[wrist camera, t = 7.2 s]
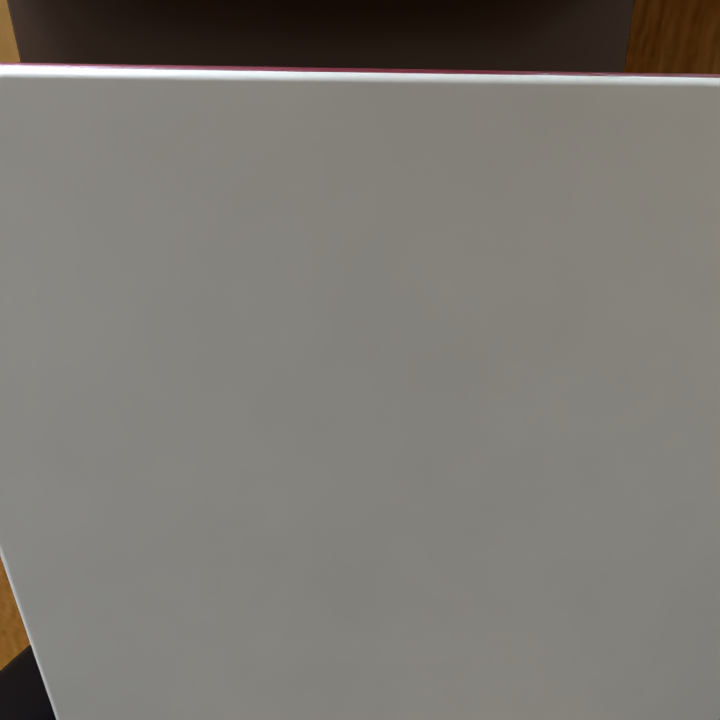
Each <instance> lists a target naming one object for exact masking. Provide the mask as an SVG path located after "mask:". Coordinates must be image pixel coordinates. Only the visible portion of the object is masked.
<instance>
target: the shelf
mask: <svg viewBox="0 0 720 720" xmlns="http://www.w3.org/2000/svg"><path fill="white" fill-rule="evenodd" d="M7 3H8V8H9V12H10V16H11V21H12V25H13V30H14V34H15V39H16V43H17V48H18V52H19V57H20V61H21V63H65V64H128V65H190V66H252V67H314V68H376V69H438V70H501V71H563V72H624V68H625V61H626V55H627V48H628V42H629V35H630V29H631V22H632V16H633V9H634V3H635V0H7Z"/></svg>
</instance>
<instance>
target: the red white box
mask: <svg viewBox="0 0 720 720" xmlns="http://www.w3.org/2000/svg"><path fill="white" fill-rule="evenodd" d="M0 556H1V559H2V562H3V565H4V568H5V571H6V573H7V576H8V579H9V582H10V585H11V588H12V591H13V594H14V597H15V600H16V603H17V606H18V609H19V612H20V614H21V617H22V620H23V623H24V626H25V629H26V632H27V635H28V638H29V641H30V644H31V647H32V650H33V653H34V655H35V658H36V661H37V664H38V667H39V670H40V673H41V676H42V679H43V682H44V685H45V688H46V691H47V694H48V696H49V699H50V702H51V705H52V708H53V711H54V714H55V717H56V720H720V74H687V73H625V72H563V71H501V70H438V69H376V68H314V67H252V66H190V65H128V64H65V63H3V62H0Z"/></svg>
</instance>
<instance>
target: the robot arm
mask: <svg viewBox="0 0 720 720" xmlns="http://www.w3.org/2000/svg"><path fill="white" fill-rule="evenodd" d="M0 720H56V717H55V714H54V711H53V708H52V705H51V702H50V699H49V696H48V694H47V691H46V688H45V685H44V682H43V679H42V676H41V673H40V670H39V667H38V664H37V661H36V658H35V655H34V653H33V650H32V647H31V644H30V645H29V646H28V647H27V648H26V649H24V650H23V651H22V652H21V653H20V654H19V655H18V656H16V657H15V658H14V659H13V660H12V661H11V662H10V663H8V664H7V665H6V666H5V667H4V668H3V669H2V670H1V671H0Z"/></svg>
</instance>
